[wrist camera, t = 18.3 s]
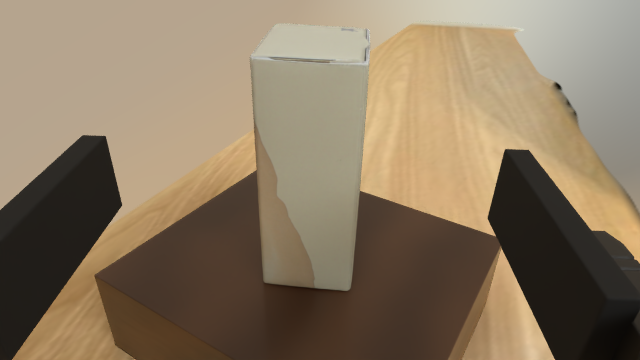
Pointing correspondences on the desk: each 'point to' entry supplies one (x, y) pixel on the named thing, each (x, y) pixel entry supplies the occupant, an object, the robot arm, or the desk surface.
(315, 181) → the box
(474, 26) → the desk surface
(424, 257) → the block
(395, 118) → the desk surface
